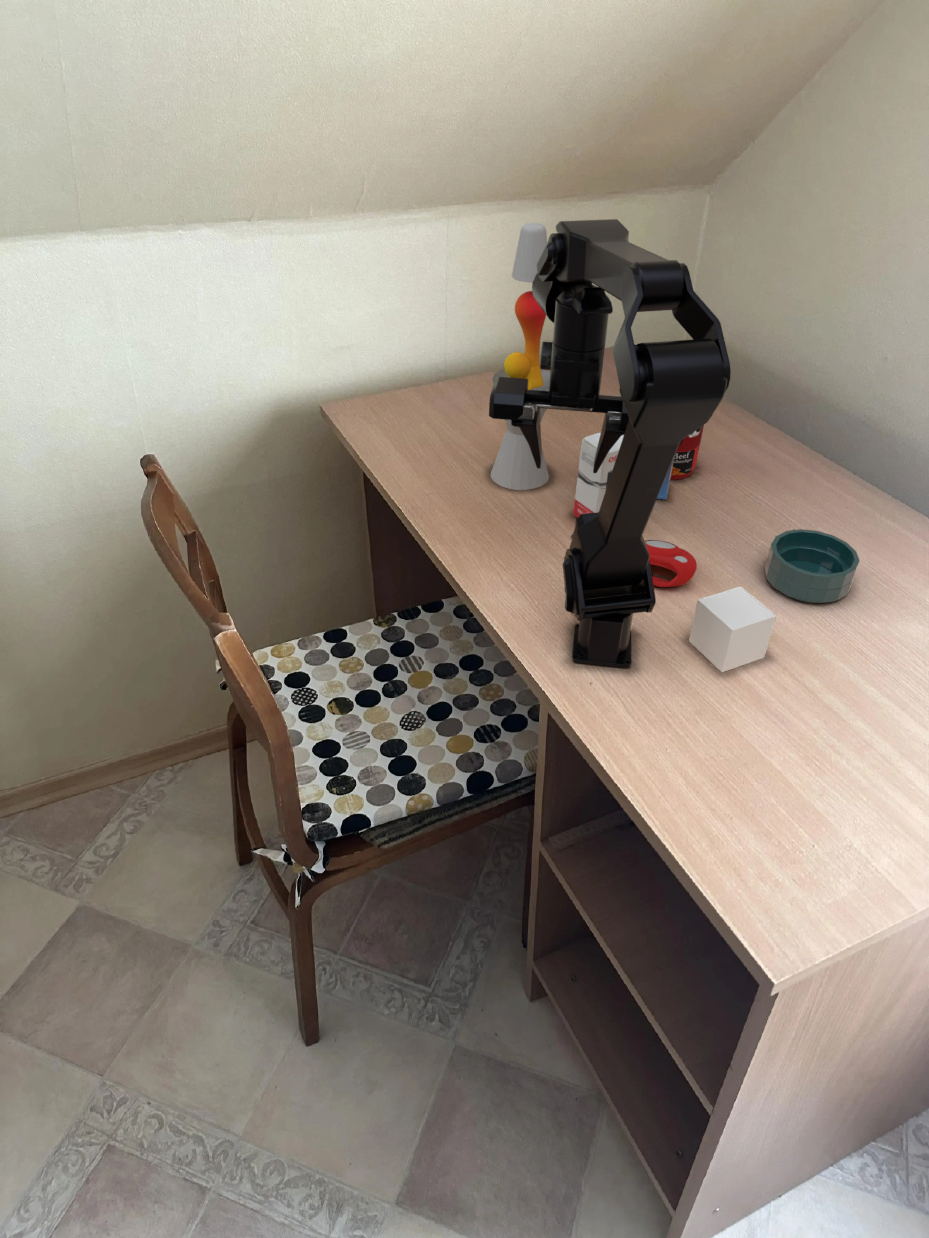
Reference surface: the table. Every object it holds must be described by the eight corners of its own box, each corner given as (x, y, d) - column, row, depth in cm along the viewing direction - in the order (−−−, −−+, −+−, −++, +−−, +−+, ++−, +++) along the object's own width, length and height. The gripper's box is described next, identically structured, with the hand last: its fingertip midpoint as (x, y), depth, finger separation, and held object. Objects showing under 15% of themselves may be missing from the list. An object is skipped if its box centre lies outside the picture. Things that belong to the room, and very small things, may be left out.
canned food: (639, 475, 133) (649, 406, 126) (648, 451, 139) (658, 384, 132) (691, 484, 131) (704, 415, 124) (698, 460, 137) (711, 392, 130)
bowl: (855, 610, 108) (866, 580, 105) (768, 602, 109) (777, 571, 106) (840, 562, 116) (850, 533, 113) (759, 555, 117) (767, 526, 114)
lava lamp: (526, 455, 137) (541, 212, 116) (562, 480, 131) (585, 229, 110) (477, 470, 133) (483, 221, 112) (512, 496, 127) (525, 239, 106)
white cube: (721, 672, 98) (732, 630, 95) (688, 641, 103) (697, 599, 99) (764, 657, 101) (776, 615, 97) (730, 627, 105) (740, 585, 101)
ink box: (594, 531, 121) (604, 452, 113) (571, 515, 124) (579, 437, 116) (642, 513, 124) (654, 436, 117) (618, 498, 128) (629, 422, 120)
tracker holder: (662, 532, 118) (716, 553, 110) (657, 564, 120) (709, 587, 112) (589, 535, 113) (640, 558, 104) (584, 569, 114) (634, 594, 106)
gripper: (663, 321, 103) (644, 444, 113) (502, 311, 105) (497, 432, 115) (666, 359, 94) (645, 488, 104) (490, 347, 96) (486, 475, 106)
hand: (566, 469), depth 107 cm, fingers open, 6 cm apart
